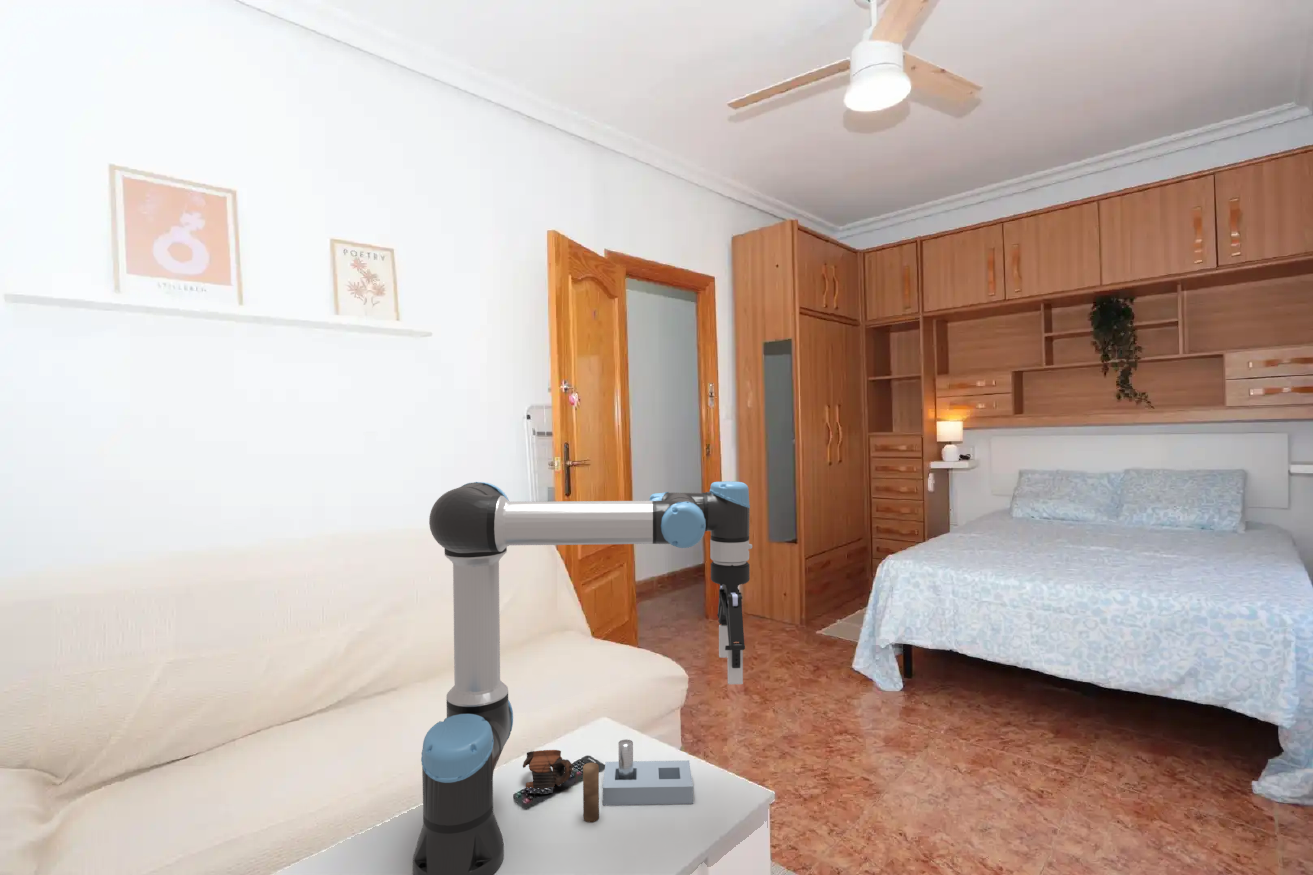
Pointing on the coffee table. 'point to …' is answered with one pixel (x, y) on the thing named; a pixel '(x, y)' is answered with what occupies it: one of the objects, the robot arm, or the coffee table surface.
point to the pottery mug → (547, 768)
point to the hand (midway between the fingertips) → (730, 669)
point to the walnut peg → (591, 792)
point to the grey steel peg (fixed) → (625, 760)
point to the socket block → (649, 784)
